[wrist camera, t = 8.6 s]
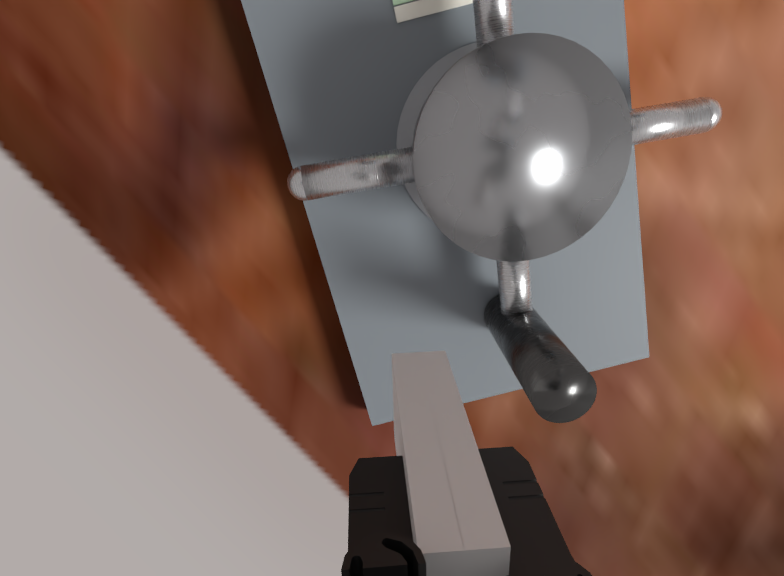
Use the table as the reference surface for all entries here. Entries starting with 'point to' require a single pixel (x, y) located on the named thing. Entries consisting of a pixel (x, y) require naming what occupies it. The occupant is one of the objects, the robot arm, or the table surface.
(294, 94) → the stand plate
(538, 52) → the cam capstan
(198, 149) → the table surface
